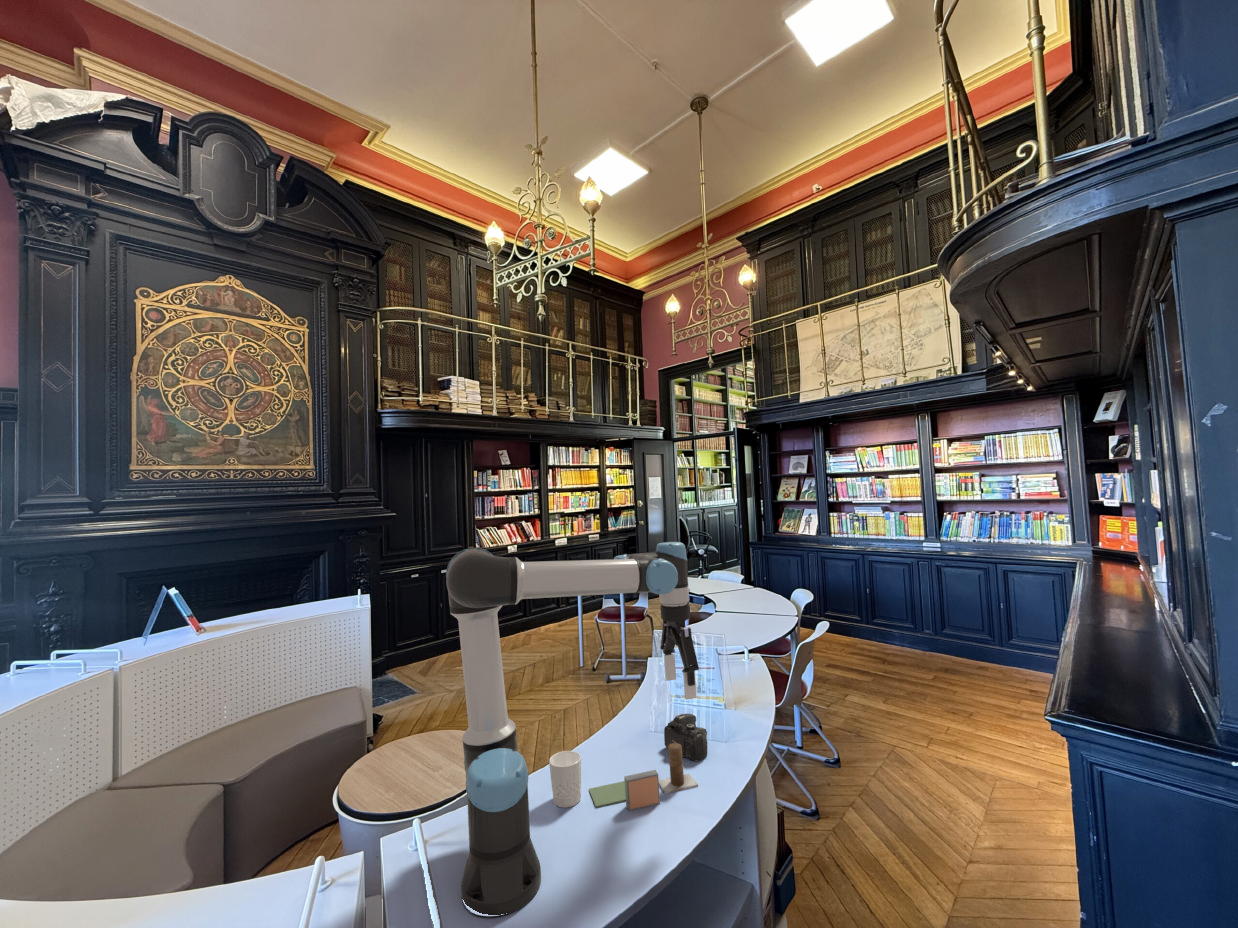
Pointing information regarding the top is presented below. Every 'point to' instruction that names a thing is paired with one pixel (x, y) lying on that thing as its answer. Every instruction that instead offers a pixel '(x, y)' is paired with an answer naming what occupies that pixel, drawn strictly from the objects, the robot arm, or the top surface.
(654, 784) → the tile
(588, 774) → the top surface
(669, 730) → the camera
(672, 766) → the wooden handled stamp
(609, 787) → the pad
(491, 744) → the robot arm
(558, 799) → the white cup
